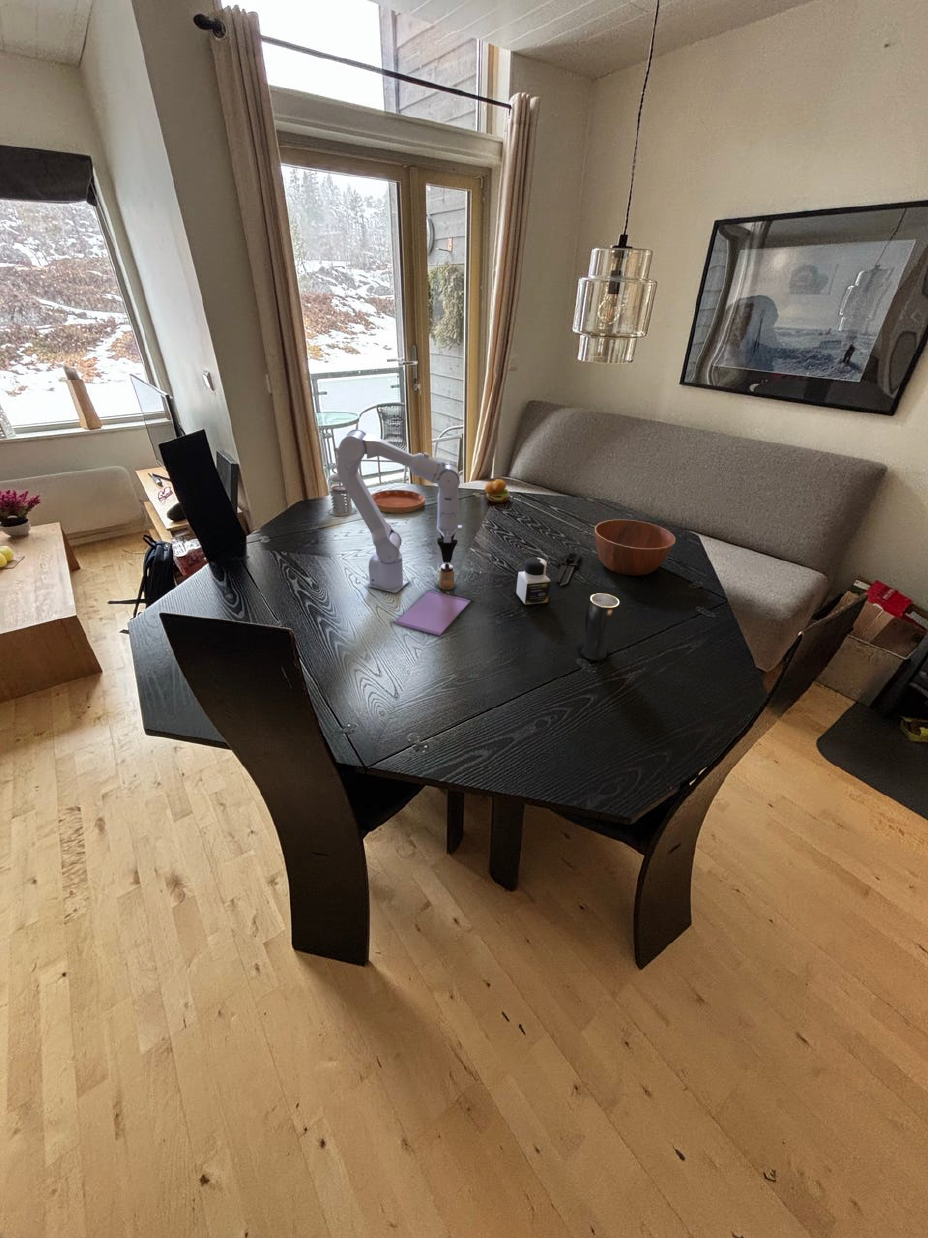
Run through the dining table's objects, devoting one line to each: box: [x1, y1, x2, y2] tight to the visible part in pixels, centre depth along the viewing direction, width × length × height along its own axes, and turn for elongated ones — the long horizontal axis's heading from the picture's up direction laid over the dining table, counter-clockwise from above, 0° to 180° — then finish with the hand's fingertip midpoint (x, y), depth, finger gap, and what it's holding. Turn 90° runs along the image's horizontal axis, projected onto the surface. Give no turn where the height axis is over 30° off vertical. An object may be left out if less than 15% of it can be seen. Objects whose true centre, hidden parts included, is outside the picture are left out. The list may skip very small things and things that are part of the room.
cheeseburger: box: [484, 478, 510, 504], centre depth 217 cm, size 10×11×10 cm
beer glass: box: [580, 593, 620, 662], centre depth 118 cm, size 7×7×15 cm
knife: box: [554, 551, 581, 586], centre depth 161 cm, size 25×6×1 cm, turn 154°
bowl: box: [594, 519, 676, 577], centre depth 163 cm, size 25×25×11 cm
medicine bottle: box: [515, 557, 551, 606], centre depth 142 cm, size 7×7×12 cm
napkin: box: [394, 590, 471, 637], centre depth 136 cm, size 13×20×1 cm, turn 156°
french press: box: [327, 447, 356, 517], centre depth 193 cm, size 10×12×25 cm
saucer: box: [371, 489, 426, 514], centre depth 207 cm, size 23×23×4 cm
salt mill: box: [438, 562, 455, 591], centre depth 147 cm, size 4×4×8 cm
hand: (447, 556), depth 144 cm, fingers open, 7 cm apart
